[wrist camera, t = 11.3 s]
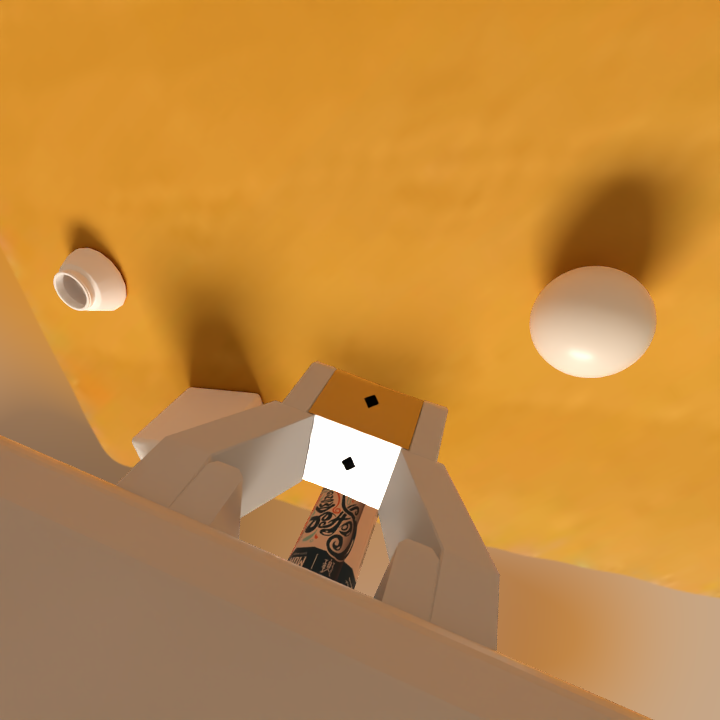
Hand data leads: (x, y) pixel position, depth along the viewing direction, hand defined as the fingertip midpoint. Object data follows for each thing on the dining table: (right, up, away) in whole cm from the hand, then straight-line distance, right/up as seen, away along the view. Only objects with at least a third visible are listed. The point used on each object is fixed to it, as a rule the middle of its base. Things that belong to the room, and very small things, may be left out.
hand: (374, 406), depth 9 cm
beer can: (0, -8, +27) cm, 28 cm away
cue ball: (+11, +3, +12) cm, 16 cm away
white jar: (-21, +8, +25) cm, 33 cm away
